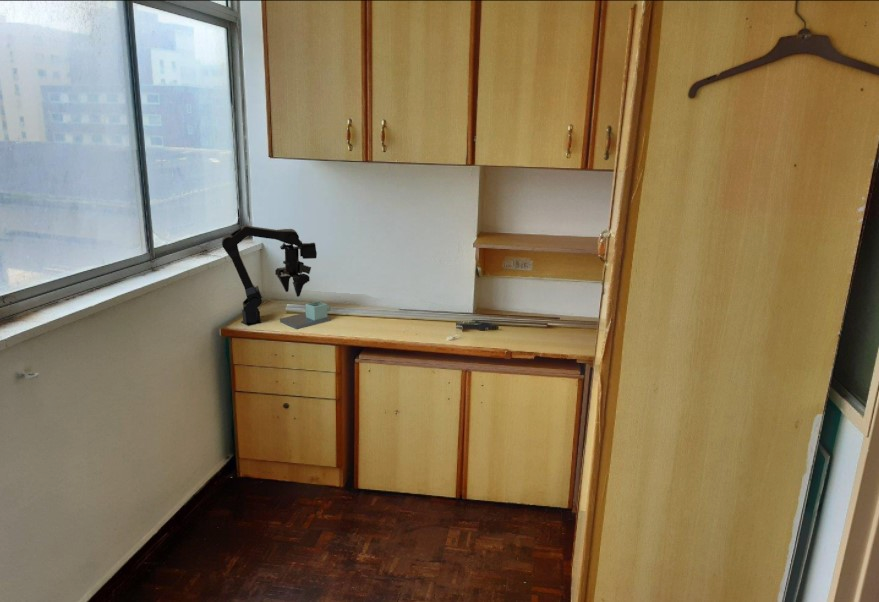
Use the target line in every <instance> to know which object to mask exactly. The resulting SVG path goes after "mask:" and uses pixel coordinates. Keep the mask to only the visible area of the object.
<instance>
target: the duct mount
mask: <svg viewBox="0 0 879 602" xmlns="http://www.w3.org/2000/svg"><path fill="white" fill-rule="evenodd" d="M313 306H314V307H316V306H320V305H313ZM330 321H331V318H330V317H329V316H327V318H323V319H319V320H315V321H314V320H312V319H310V318H307V317H306V312H303V313H302V312H301V313H298V314H297V313H296V314H293V315H290V316H286V317H282V318H279V322H280V323H281V324H283V325H286V326H287V327H291V328H293V329H295V330H298V329H304V328H307V327H312V326H315V325H319V324H323V323H326V322H327V323H328V322H330Z"/></svg>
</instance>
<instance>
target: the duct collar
mask: <svg viewBox="0 0 879 602" xmlns="http://www.w3.org/2000/svg"><path fill="white" fill-rule="evenodd" d="M313 305H320V306H316V307H314V306H313ZM330 311H331V305H329V304H327V303H324V302H321V301H320V300H319V301H318V300H317V301H313V302H308V303H305V313H306V317H307V318H310V319H312V320H314V321H315V320H319V319H323V318H327V317H328V312H330Z"/></svg>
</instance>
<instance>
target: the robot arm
mask: <svg viewBox="0 0 879 602" xmlns="http://www.w3.org/2000/svg"><path fill="white" fill-rule="evenodd" d="M247 237H255V238H263V239H269V240H270V239H271V240H276V241H279V242H282V244H281V245H280V246H279V248H280V250H284V260H283V261H282V264H284V265H285V266H284V267H277V268H276V269H275V275H276V277H277V278H278V280H279V281H280V283H281V285H282V287H283V290H284V291H285V292H286V293H288V292H289V288H290V279H291V278H292V281H293V282H292V285H293V289H294V292H295V295H296V297H297V298H298V297H299V298H300V296H301V293H302V290H303V288H304V285H306V284H307V283H309V282H310V281H311V280H310V279H311V278H310V273H311V270H312V267H311V266H308V265H305V264H304V263H305V262H303V261H300V258H302V259H304V260H306V259H314V260H315V259H317V253H318V252H317V246H316V242H309V243H308V242H305V243H303V241H302V240H300V239H299V238H300V237H299V234H298V232H297V231H296V230H295V229H293V228H282V229H273V228H267V227H265V228H264V227H259V226H251V225H248V224H245V225H242V226H241V227H240V228H238V229H237V230H235V231H234V232H232V233H231V234H226V235H224V236H223V237H222V239H221V245H222V248H223V249H224V251H225V252H226V254H227V255H228V257H230V259H231V261H232V263H233V266H234V267H235V269H236V272H237V274H238V276H239V280H240V281H241V283H242V285H243V287H244V291H245V294H246V298H245V299H244V301H243V302H242V306H243V307H242V309H241V312H242V313H241V315H242V320H241V321H240V323H242V324H243V325H246V326H254V325H258V324H262V321H261V311H260V308H259V307H260V306H261V305H262V303H263V300H262V298H263V293H262V292H261V291H260V289H259V288H260V287H259V285H254V283H253V281H252V279H251V277H250V275H249V273H248V271H247V268H246V266H245V264H244V261H243V259H242V257H241V253H240V251H239V250H240V249H239V246H238V245H239V244H240V243H241V242H243V240H244V239H245V238H247Z"/></svg>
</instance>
